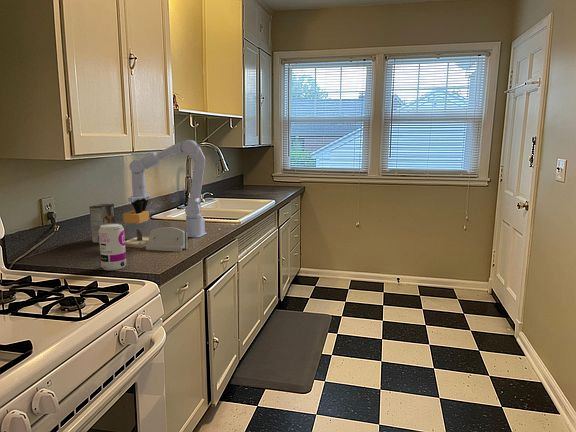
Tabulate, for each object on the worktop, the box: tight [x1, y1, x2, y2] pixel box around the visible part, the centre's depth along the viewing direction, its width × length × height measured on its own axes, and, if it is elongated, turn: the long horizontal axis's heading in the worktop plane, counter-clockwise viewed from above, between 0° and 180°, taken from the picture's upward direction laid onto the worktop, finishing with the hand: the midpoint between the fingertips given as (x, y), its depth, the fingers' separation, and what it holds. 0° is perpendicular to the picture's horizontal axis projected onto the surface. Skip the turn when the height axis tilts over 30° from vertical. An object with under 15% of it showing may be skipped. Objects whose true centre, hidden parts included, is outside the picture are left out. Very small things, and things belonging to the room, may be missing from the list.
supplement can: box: [99, 223, 127, 271], centre depth 153 cm, size 8×8×15 cm
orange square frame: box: [122, 210, 150, 224], centre depth 199 cm, size 8×8×4 cm
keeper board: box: [125, 228, 150, 249], centre depth 190 cm, size 14×10×6 cm
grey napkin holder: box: [145, 226, 188, 253], centre depth 181 cm, size 17×5×10 cm, turn 76°
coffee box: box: [89, 203, 116, 244], centre depth 196 cm, size 9×6×16 cm
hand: (140, 215), depth 202 cm, fingers closed on orange square frame
